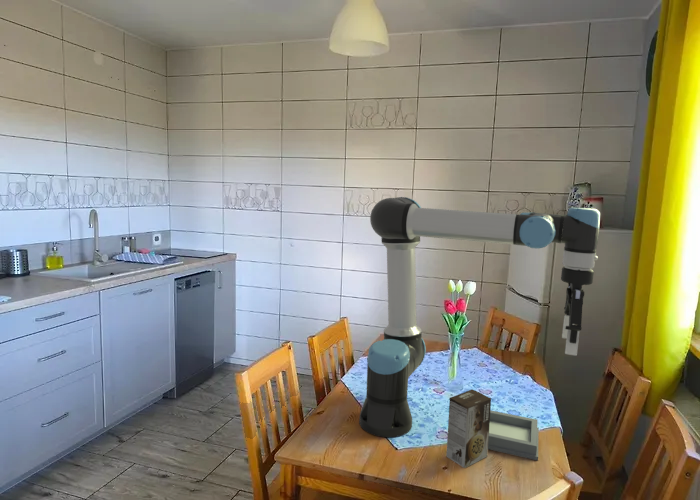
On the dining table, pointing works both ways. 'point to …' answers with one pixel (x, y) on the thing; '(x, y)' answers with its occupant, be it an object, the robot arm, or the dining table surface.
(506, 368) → the dining table surface
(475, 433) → the coffee box
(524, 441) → the tray
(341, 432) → the dining table surface
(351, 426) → the dining table surface
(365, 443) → the dining table surface
